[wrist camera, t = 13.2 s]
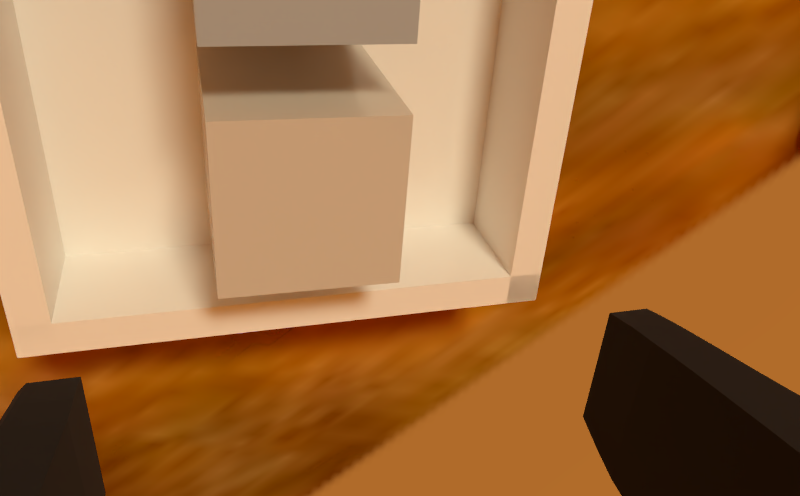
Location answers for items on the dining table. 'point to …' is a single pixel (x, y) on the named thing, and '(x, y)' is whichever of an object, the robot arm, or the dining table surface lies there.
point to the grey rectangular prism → (305, 22)
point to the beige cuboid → (302, 168)
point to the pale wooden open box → (186, 181)
